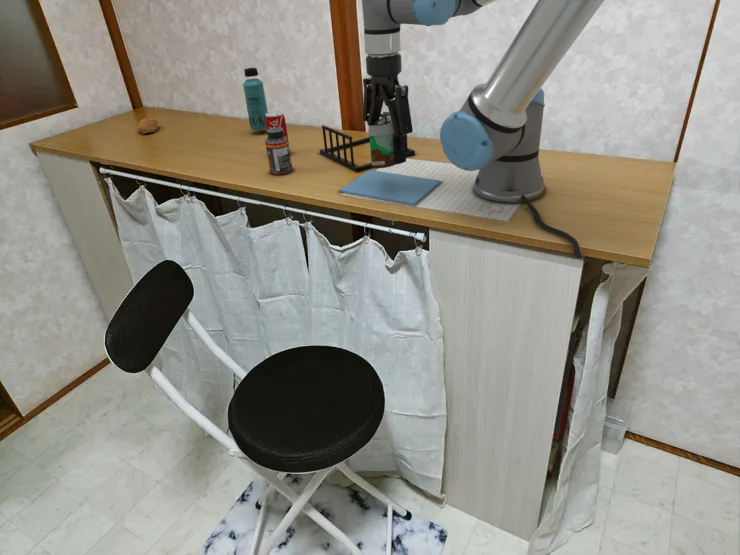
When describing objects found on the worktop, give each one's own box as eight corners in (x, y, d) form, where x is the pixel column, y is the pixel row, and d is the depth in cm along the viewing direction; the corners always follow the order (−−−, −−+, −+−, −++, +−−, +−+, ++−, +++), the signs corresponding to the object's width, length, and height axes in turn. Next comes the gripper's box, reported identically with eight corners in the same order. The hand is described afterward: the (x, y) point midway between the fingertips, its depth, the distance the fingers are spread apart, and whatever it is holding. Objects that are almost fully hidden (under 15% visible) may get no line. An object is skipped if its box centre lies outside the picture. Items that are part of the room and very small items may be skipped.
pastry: (159, 133, 182) (155, 121, 180) (138, 136, 180) (134, 125, 178) (159, 126, 189) (156, 115, 187) (139, 129, 188) (136, 118, 186)
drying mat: (440, 182, 127) (440, 180, 127) (414, 205, 117) (413, 203, 117) (369, 171, 137) (369, 169, 136) (339, 191, 127) (339, 189, 127)
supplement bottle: (268, 170, 143) (260, 128, 137) (289, 165, 145) (283, 124, 139) (272, 177, 138) (265, 134, 132) (295, 172, 140) (288, 130, 134)
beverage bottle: (250, 131, 176) (238, 67, 165) (270, 128, 177) (259, 65, 167) (252, 136, 170) (240, 71, 160) (272, 133, 172) (262, 68, 161)
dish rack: (414, 154, 145) (413, 123, 141) (357, 172, 137) (354, 139, 133) (373, 138, 160) (372, 110, 155) (319, 153, 152) (316, 124, 147)
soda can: (272, 158, 151) (265, 116, 144) (270, 152, 155) (262, 111, 149) (291, 155, 152) (285, 113, 145) (288, 150, 156) (282, 108, 150)
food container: (396, 172, 118) (395, 127, 112) (369, 170, 119) (367, 126, 114) (409, 153, 128) (409, 112, 122) (385, 152, 129) (383, 111, 124)
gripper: (429, 57, 105) (430, 165, 117) (369, 46, 121) (375, 143, 133) (399, 63, 102) (402, 174, 114) (341, 51, 117) (350, 150, 129)
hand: (388, 157), depth 123 cm, fingers closed on food container, 9 cm apart
